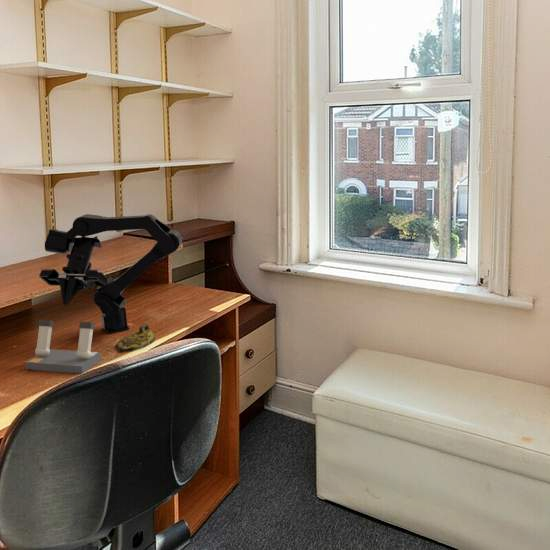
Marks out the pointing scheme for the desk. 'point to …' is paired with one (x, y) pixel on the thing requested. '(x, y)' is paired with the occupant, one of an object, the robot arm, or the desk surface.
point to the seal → (136, 339)
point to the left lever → (44, 337)
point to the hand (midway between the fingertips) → (65, 304)
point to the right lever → (85, 340)
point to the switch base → (63, 362)
